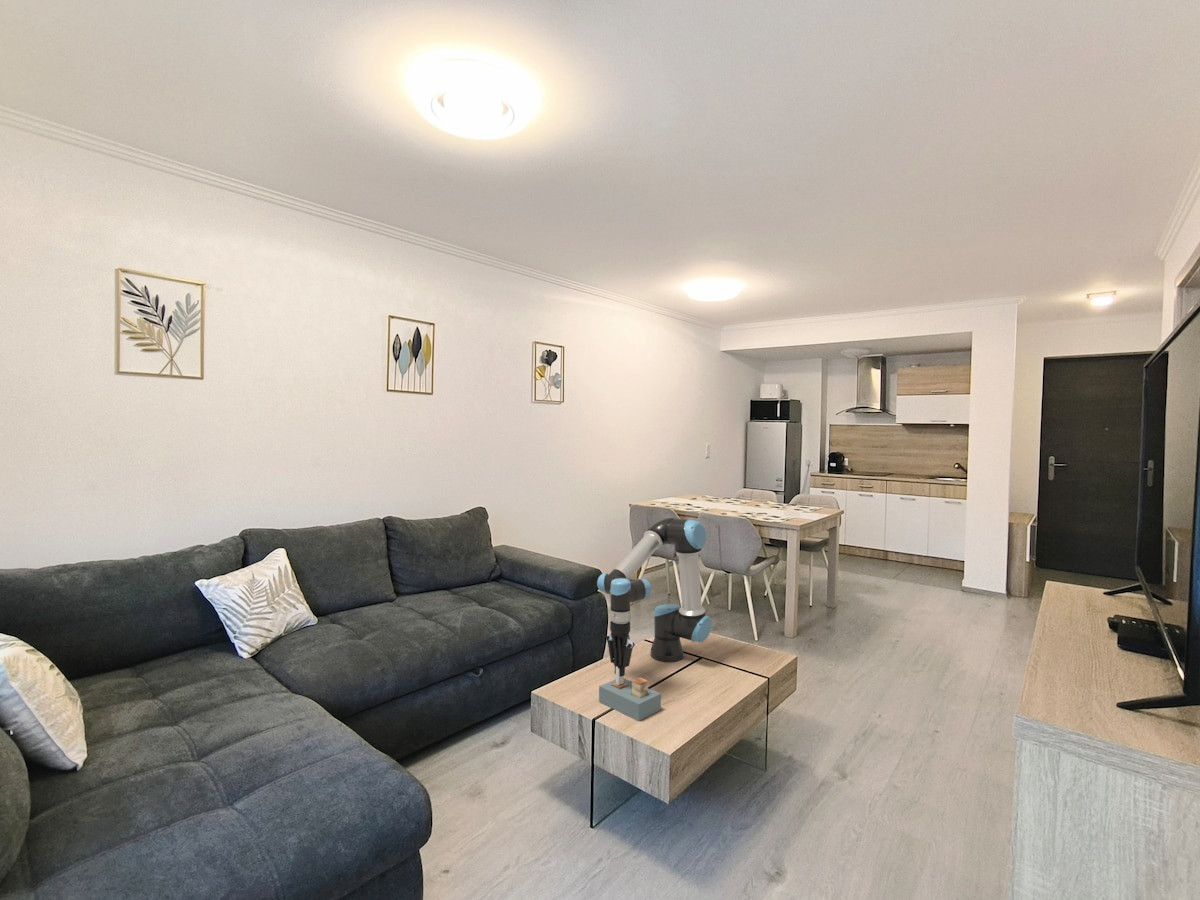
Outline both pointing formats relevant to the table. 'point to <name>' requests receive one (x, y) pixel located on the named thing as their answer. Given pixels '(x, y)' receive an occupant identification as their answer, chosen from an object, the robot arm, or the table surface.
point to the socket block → (629, 700)
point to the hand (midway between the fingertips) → (619, 683)
